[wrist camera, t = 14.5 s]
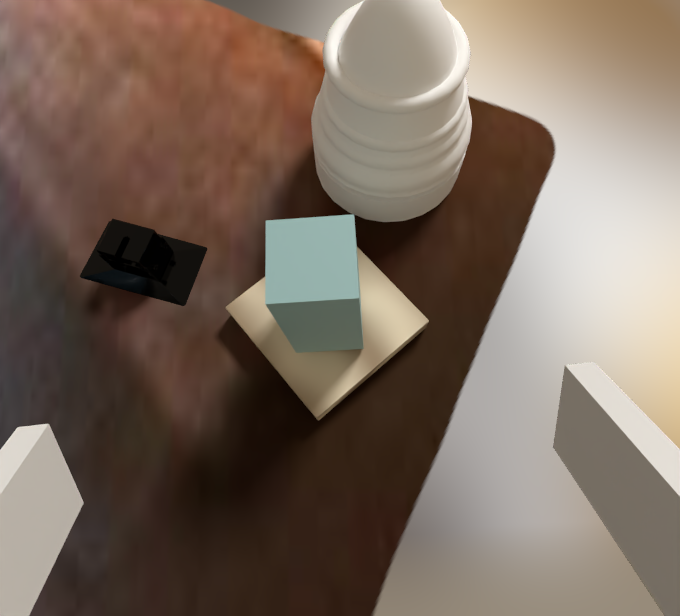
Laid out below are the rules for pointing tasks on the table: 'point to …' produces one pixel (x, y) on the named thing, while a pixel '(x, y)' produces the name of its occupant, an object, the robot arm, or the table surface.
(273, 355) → the base slab
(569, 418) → the robot arm
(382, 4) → the honey pot
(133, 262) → the black boxy piece
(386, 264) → the table surface
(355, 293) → the pillar block
